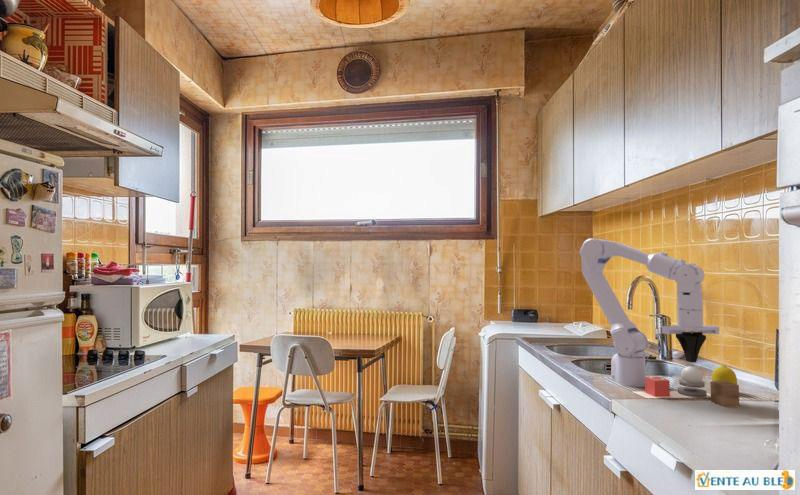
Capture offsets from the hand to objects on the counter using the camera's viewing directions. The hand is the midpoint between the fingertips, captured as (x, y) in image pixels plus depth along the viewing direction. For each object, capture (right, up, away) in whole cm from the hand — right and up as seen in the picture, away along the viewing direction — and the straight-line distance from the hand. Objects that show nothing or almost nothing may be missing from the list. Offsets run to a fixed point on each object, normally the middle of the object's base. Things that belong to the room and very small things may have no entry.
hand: (691, 361), depth 122 cm
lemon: (+10, -10, +2) cm, 14 cm away
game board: (-5, -9, -6) cm, 12 cm away
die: (-9, -8, -1) cm, 13 cm away
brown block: (+2, -9, -10) cm, 13 cm away
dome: (0, -6, 0) cm, 6 cm away
